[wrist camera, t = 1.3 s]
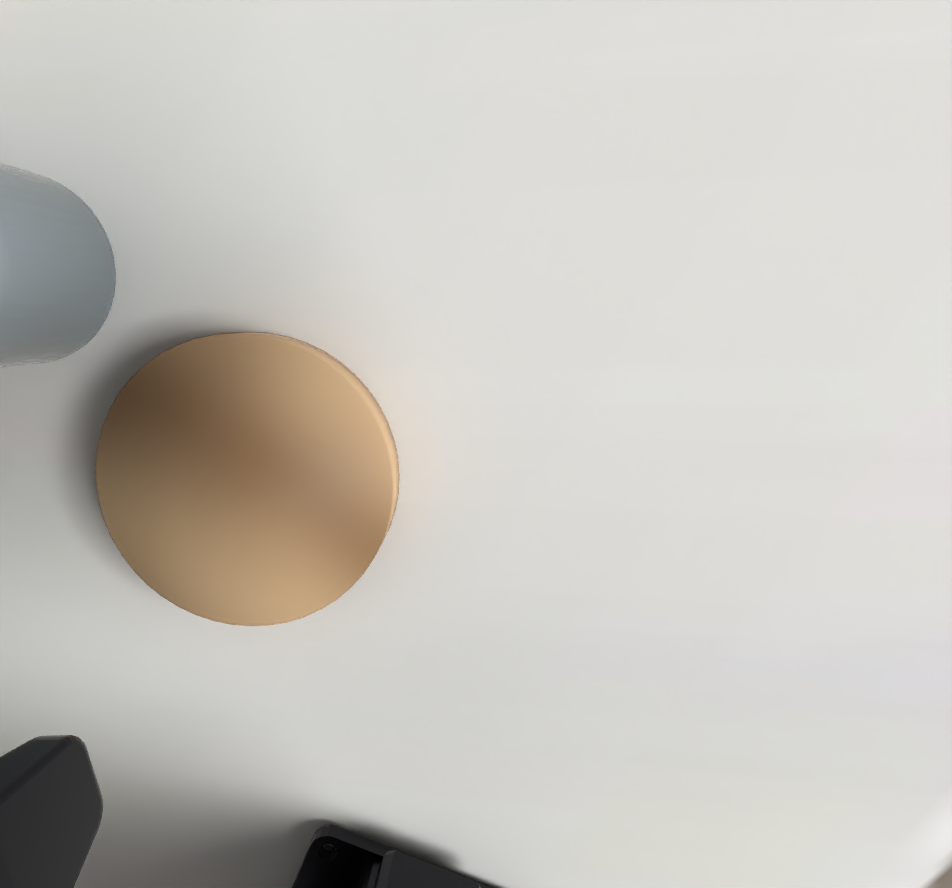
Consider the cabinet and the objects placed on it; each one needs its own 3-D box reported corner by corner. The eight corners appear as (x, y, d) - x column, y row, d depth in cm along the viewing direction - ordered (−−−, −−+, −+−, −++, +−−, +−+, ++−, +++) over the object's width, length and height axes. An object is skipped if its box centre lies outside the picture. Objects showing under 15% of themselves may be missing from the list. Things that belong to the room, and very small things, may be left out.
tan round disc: (340, 647, 19) (330, 668, 18) (86, 544, 19) (59, 560, 18) (442, 399, 18) (437, 405, 17) (172, 286, 18) (148, 285, 17)
